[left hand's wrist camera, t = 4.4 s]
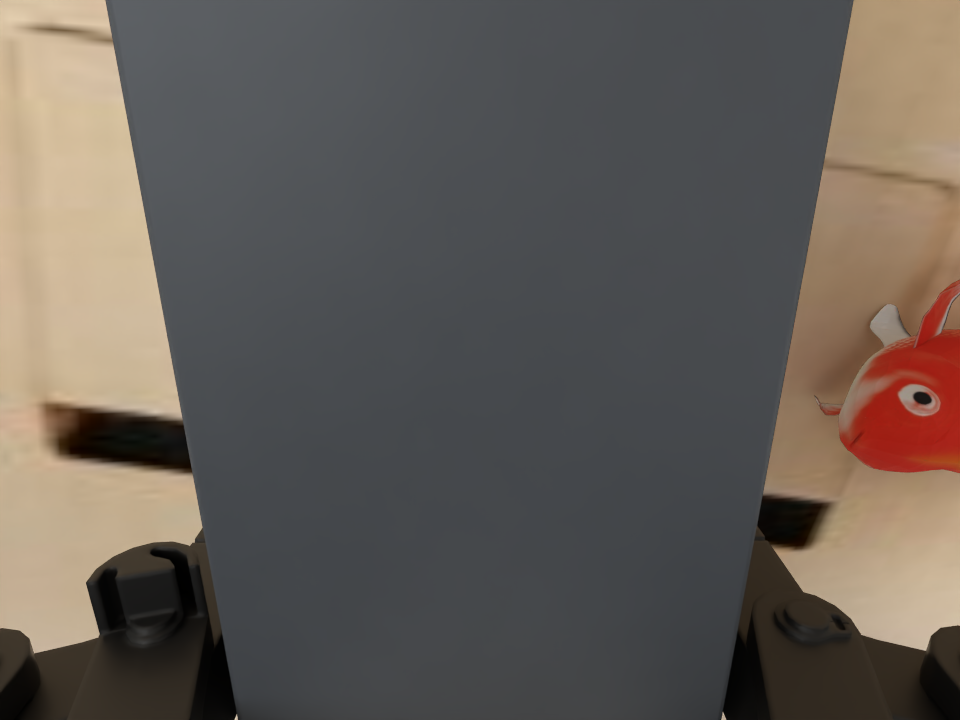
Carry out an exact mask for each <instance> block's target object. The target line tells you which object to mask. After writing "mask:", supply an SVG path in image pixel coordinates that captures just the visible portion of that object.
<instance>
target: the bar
mask: <svg viewBox="0 0 960 720" xmlns="http://www.w3.org/2000/svg"><path fill="white" fill-rule="evenodd" d="M853 1H854V0H106V5H107V11H108V16H109V22H110V27H111V32H112V38H113V43H114V49H115V54H116V60H117V65H118V70H119V76H120V81H121V87H122V92H123V98H124V103H125V108H126V114H127V119H128V125H129V130H130V136H131V141H132V146H133V152H134V157H135V163H136V168H137V174H138V179H139V184H140V190H141V195H142V201H143V206H144V212H145V217H146V222H147V228H148V233H149V239H150V244H151V250H152V255H153V260H154V266H155V271H156V277H157V282H158V288H159V293H160V298H161V304H162V309H163V315H164V320H165V325H166V331H167V336H168V342H169V347H170V353H171V358H172V363H173V369H174V374H175V380H176V385H177V391H178V396H179V401H180V407H181V412H182V418H183V423H184V429H185V434H186V439H187V445H188V450H189V456H190V461H191V467H192V472H193V477H194V483H195V488H196V494H197V499H198V505H199V510H200V515H201V521H202V526H203V532H204V537H205V543H206V548H207V553H208V559H209V564H210V570H211V575H212V581H213V586H214V591H215V597H216V602H217V608H218V613H219V619H220V624H221V629H222V635H223V640H224V646H225V651H226V657H227V662H228V667H229V673H230V678H231V684H232V689H233V695H234V700H235V705H236V711H237V716H238V720H721V718H722V713H723V707H724V702H725V696H726V691H727V685H728V680H729V675H730V669H731V664H732V658H733V653H734V647H735V642H736V637H737V631H738V626H739V620H740V615H741V609H742V604H743V599H744V593H745V588H746V582H747V577H748V571H749V566H750V560H751V555H752V550H753V544H754V539H755V533H756V528H757V522H758V517H759V512H760V506H761V501H762V495H763V490H764V484H765V479H766V473H767V468H768V463H769V457H770V452H771V446H772V441H773V435H774V430H775V425H776V419H777V414H778V408H779V403H780V397H781V392H782V387H783V381H784V376H785V370H786V365H787V359H788V354H789V348H790V343H791V338H792V332H793V327H794V321H795V316H796V310H797V305H798V300H799V294H800V289H801V283H802V278H803V272H804V267H805V261H806V256H807V251H808V245H809V240H810V234H811V229H812V223H813V218H814V213H815V207H816V202H817V196H818V191H819V185H820V180H821V174H822V169H823V164H824V158H825V153H826V147H827V142H828V136H829V131H830V126H831V120H832V115H833V109H834V104H835V98H836V93H837V88H838V82H839V77H840V71H841V66H842V60H843V55H844V49H845V44H846V39H847V33H848V28H849V22H850V17H851V11H852V6H853Z"/></svg>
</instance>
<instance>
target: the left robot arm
mask: <svg viewBox="0 0 960 720" xmlns="http://www.w3.org/2000/svg"><path fill="white" fill-rule="evenodd" d="M86 585H87V588H88V592H89V596H90V599H91V603H92V607H93V611H94V614H95V618H96V622H97V625H98V629H99V633H100V635H99V638H96V639H92V640H89V641H86V642H82V643H78V644H74V645H69V646H65V647H61V648H57V649H52V650H48V651H44V652H39V653H35V654H34V652H33V649H32V646H31V643H30V639H29V638H28V637H27V636H25V635H24V634H23V633H22V632H21V631H18V630H11V629H4V628H1V629H0V720H234V719H235V717H236V714H237V711H236V705H235V700H234V695H233V689H232V684H231V678H230V673H229V667H228V662H227V657H226V651H225V646H224V640H223V635H222V629H221V624H220V619H219V613H218V608H217V602H216V597H215V591H214V586H213V581H212V575H211V570H210V564H209V559H208V553H207V548H206V543H205V537H204V532H203V528H202V530H201V531H200V533H199V534H198V536H197V537H196V538H195V543H192V544H191V546H188V545H185V544H180V543H176V542H156V543H150V544H146V545H142V546H138V547H134V548H132V549H129V550H127V551H125V552H123V553H121V554H118V555H116V556H114V557H112V558H111V559H110V560H108V561H107V562H105V563H104V564H103V565H101V566H100V567H99V568H97V569H96V570H95V571H94V573H93V574H92V575H91V577H90V578H89V579H88V581H87V582H86ZM723 712H724V715H725V717H726V720H960V626H951V627H944V628H940V629H939V630H938V631H936V632H935V633H934V634H933V635H932V636H931V638H930V641H929V644H928V647H927V650H926V651H923V650H919V649H915V648H910V647H906V646H902V645H897V644H893V643H889V642H884V641H880V640H876V639H873V638H870V637H866V636H863V635H861V634H860V632H859V631H858V629H857V628H856V626H855V625H854V623H853V621H852V620H851V619H850V618H849V617H848V616H847V615H846V614H844V613H843V612H842V611H841V610H840V609H838V608H837V607H836V606H835V605H833V604H831V603H829V602H827V601H825V600H823V599H821V598H819V597H817V596H815V595H811V594H807V593H804V592H803V591H802V590H801V588H800V587H799V585H798V584H797V582H796V581H795V580H794V578H793V577H792V575H791V574H790V572H789V571H788V569H787V568H786V567H785V565H784V564H783V562H782V561H781V559H780V558H779V557H778V555H777V554H776V552H775V551H774V549H773V548H772V546H771V545H770V544H769V542H768V541H765V536H764V535H763V533H762V532H761V531H760V529H759V528H758V526H757V528H756V533H755V539H754V544H753V550H752V555H751V560H750V566H749V571H748V577H747V582H746V588H745V593H744V599H743V604H742V609H741V615H740V620H739V626H738V631H737V637H736V642H735V647H734V653H733V658H732V664H731V669H730V675H729V680H728V685H727V691H726V696H725V702H724V707H723Z"/></svg>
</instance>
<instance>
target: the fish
mask: <svg viewBox="0 0 960 720" xmlns="http://www.w3.org/2000/svg"><path fill="white" fill-rule="evenodd" d="M959 295H960V280H958V281H956V282H954V283H952V284H951V285H950V286H949V287H947V288H946V289H945V290H944V291H943V292H941V293H940V295H939V296H938V298H937V300H936V301H935V303H934V304H933V305H932V307H931V308H930V309H929V310H928V312H927V313H926V314H925V315H924V317H923V319H922V322H921V325H920V328H919V331H918V334H917V335H915V336H910V335H909V333H908V332H907V331H906V330H905V328H904V327H903V324H902V322H901V319H900V316H899V312H898V308H897V307H896V306H895V305H892V304H887V305H885V306H884V307H883V308H882V309H881V310H880V311H879V313H878V314H877V315H876V316H875V317H874V319H873V320H872V321H871V324H870V328H871V330H872V332H873V333H874V334H875V335H876V336H877V337H878V338H879V339H880V340H881V341H882V343H883V345H884V348H883V349H881V350H880V351H878V352H877V353H875V354H873V355H872V356H871V357H870V358H869V359H868V360H867V361H866V362H865V363H864V365H863V366H862V367H861V369H860V370H859V372H858V374H857V376H856V377H855V379H854V381H853V383H852V385H851V387H850V390H849V392H848V394H847V397H846V399H845V401H844V404H822V403H820V402H819V400H818V399H817V397H816V396H815V395H814V396H815V398H816V401H817V404H818V405H819V406H820V409H821V410H822V411H823V412H824V413H825V415H838V414H839V419H838V424H839V434H840V439H841V441H842V443H843V444H844V445H845V447H846V448H847V450H849V451H850V452H852V453H853V454H854V455H855V456H856V457H857V458H858V459H859V460H860V461H861V462H862V463H864V464H865V465H867V466H869V467H871V468H874V469H879V470H885V471H894V472H921V471H929V470H940V469H944V470H949V471H953V472H957V473H960V330H943V327H944V325H945V322H946V319H947V315H948V312H949V309H950V307H951V304H952V302H953V301H954V300H955V299H956V298H957V297H958V296H959Z"/></svg>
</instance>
